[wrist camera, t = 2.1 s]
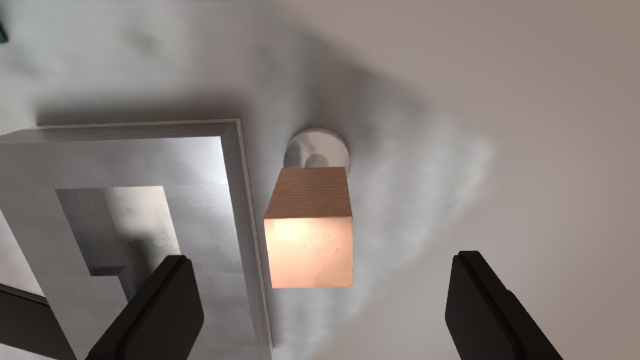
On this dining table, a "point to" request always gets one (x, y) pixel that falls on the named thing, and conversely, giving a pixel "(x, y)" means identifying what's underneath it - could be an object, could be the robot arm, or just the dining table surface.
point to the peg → (311, 214)
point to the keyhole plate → (138, 224)
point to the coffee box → (2, 38)
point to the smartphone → (31, 325)
